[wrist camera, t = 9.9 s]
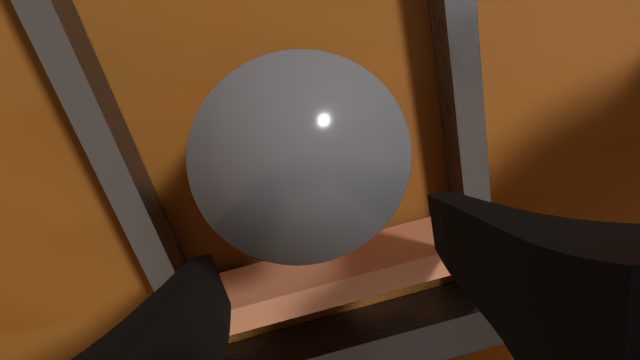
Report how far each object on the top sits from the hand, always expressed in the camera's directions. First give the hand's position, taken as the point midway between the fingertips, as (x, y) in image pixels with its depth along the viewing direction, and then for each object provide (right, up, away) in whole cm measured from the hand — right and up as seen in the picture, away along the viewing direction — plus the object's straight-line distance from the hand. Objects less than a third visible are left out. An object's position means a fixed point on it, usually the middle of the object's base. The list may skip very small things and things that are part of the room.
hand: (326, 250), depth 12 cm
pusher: (0, -1, +3) cm, 3 cm away
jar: (-1, +4, +1) cm, 5 cm away
